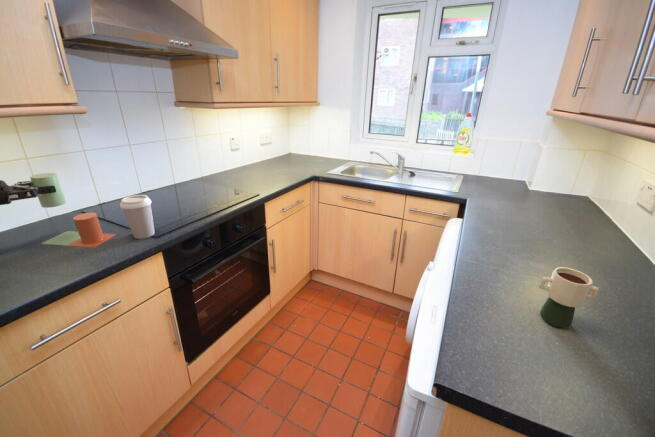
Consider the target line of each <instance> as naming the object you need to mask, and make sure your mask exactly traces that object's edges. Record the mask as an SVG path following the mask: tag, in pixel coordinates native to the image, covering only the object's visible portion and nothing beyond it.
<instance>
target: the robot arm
mask: <svg viewBox="0 0 655 437" xmlns="http://www.w3.org/2000/svg"><path fill="white" fill-rule="evenodd" d="M55 192H56V188H55V186H44V187H39V188H38V187H33V184H32V182H31V180H25V181H24V180H23V181H17V182H15V183H13V184H12V185H8V184H7V183H6V181H5V180H2V179H0V206H4V205H5V206H6V205H10V204H11V203H12V202H14V201H15V202H16V201H20V200H27V199H34V198H38V197H37V196H39V195H41V194H47V193H55Z"/></svg>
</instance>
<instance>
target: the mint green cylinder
mask: <svg viewBox="0 0 655 437" xmlns="http://www.w3.org/2000/svg"><path fill="white" fill-rule="evenodd" d="M29 179H30V181H31V182H32V184H33V187H38V188H39V187H44V186H55V188H56V192H55V193H47V194H41V195H39V196H37V197H36V198H37V200H38V201H39V204H40V207H41V208H45V209H48V208H55V207H60V206H63V205H64V204H67V200H66V198H65V194H64V192H63V189H62V186H61V183H60V181H59V178H58V175H57V173H55V172H44V173H37V174H32V175H30V176H29Z"/></svg>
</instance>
